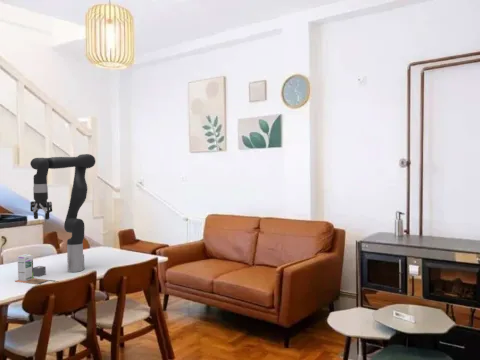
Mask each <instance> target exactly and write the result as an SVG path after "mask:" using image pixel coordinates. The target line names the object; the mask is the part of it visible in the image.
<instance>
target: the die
mask: <svg viewBox="0 0 480 360" xmlns="http://www.w3.org/2000/svg"><path fill="white" fill-rule="evenodd" d="M46 271H47V270H46V266H43V265H37V266H33V277H38V278H39V277H42V276H46V275H47V273H46Z"/></svg>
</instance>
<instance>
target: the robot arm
mask: <svg viewBox="0 0 480 360" xmlns="http://www.w3.org/2000/svg"><path fill="white" fill-rule="evenodd" d="M95 164H96V158H95V156H93V155H92V154H90V153H84V154H79V155H78V156H53V157H52V156H51V157H34V158H33V159H32V160H31V161H30V167H31V168H32V169H33V170H35V171H36V172H35V174H34V175H33V178H32V179H33V189H32V190H33V201H30V212H32V213H33V219H34V220H38V219H39V212H38V211H40V210H42V211H43V212H44V219H45V220H49V219H50V213H51V212H53V203H52V201H48V200H49V191H48V190H49V189H48V188H49V187H48V174H49V169H51V170H52V169H53V170H55V169H56V170H57V169H66V168H74V177H73V182H72V187H71V188H72V189H71V193H70V200H69V205H68V210H67V212H66V217H65V220H64V230H65V232H67V233H69V234H70V233H71V237H70V238H68V239H67V241H66V246H67V247H66V248H67V249H66V250H67V257H66V258H67V272H68V273H78V272H82V271H84V270H85V254H84V239H85V228H86V227H85V221H84V220H83V219H81V218H78V215H79V214H78V213H79V210H80V209H81V207H82V206H83V204H84V203H85V201H86V199H87V196H88V195H87V194H88V184H87V181H86V173H87V172H86V171H87V169H91V168H93V167H94V166H95Z"/></svg>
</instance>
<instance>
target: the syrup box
mask: <svg viewBox="0 0 480 360" xmlns="http://www.w3.org/2000/svg"><path fill="white" fill-rule="evenodd" d="M16 259H17V280H19V281H28V280H31V279H34V278H35V276H33V268H34V255H33V254H29V253H25V254H21V255H18V256H17V258H16Z"/></svg>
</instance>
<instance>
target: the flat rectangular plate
mask: <svg viewBox="0 0 480 360" xmlns="http://www.w3.org/2000/svg"><path fill="white" fill-rule="evenodd" d="M14 282H16V283H22V282H23V283H25V284H32V285H38V284H44V283H47V282H55V280H53V279H43V278H36V277H34V279H31V280H28V281H19V280H18V279H17V280H14Z"/></svg>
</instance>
